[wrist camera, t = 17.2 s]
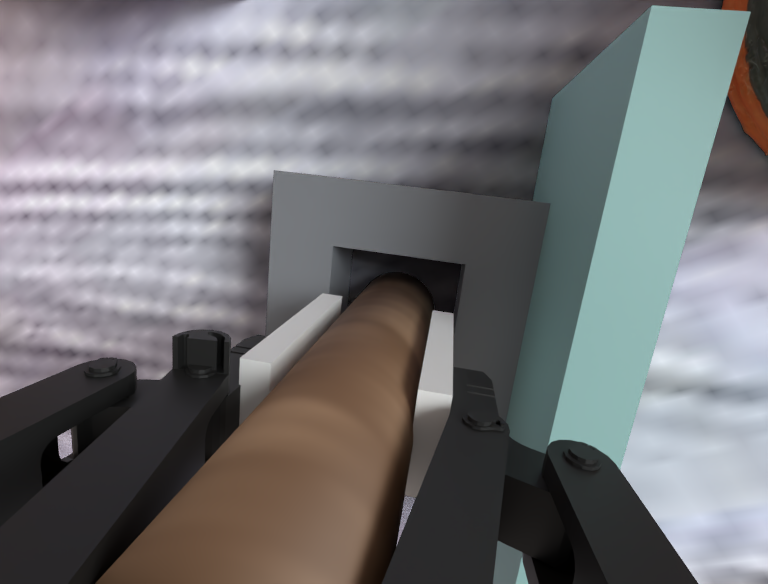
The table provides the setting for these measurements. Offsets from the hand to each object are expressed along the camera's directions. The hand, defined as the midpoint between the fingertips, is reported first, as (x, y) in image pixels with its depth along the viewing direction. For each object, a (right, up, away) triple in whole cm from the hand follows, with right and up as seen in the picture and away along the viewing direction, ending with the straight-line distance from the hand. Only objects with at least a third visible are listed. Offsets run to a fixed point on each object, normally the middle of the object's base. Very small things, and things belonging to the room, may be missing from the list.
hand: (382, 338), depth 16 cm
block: (+1, +1, +6) cm, 6 cm away
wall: (+7, 0, +5) cm, 9 cm away
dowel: (+1, +1, +4) cm, 4 cm away
